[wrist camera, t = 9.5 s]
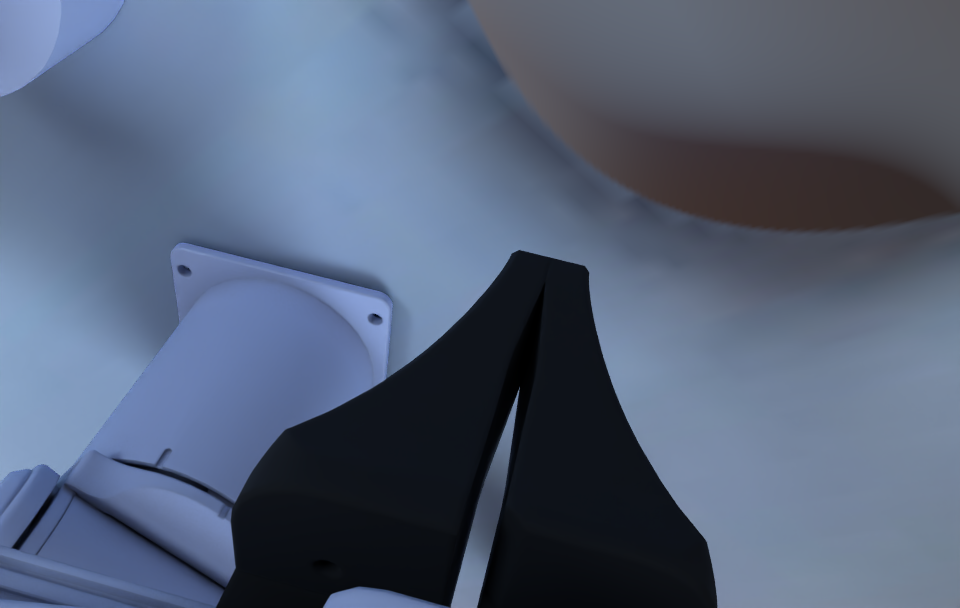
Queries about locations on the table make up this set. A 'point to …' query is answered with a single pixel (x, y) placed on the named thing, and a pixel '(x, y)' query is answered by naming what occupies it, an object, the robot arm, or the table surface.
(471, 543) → the table surface
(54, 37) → the wedge on round base
